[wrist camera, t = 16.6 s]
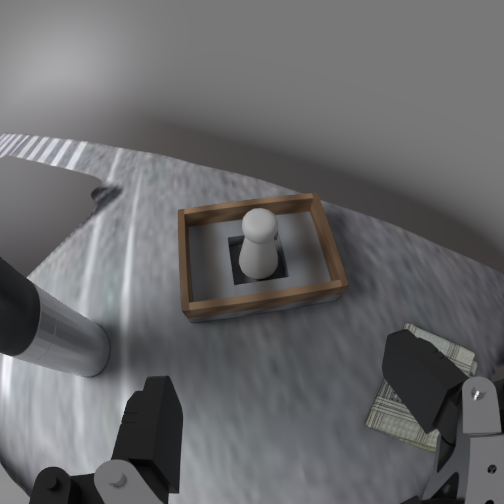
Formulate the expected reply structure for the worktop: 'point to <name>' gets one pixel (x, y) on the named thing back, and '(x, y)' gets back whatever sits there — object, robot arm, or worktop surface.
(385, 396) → the dish towel
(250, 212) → the salt shaker
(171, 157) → the worktop surface
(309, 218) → the bore box
